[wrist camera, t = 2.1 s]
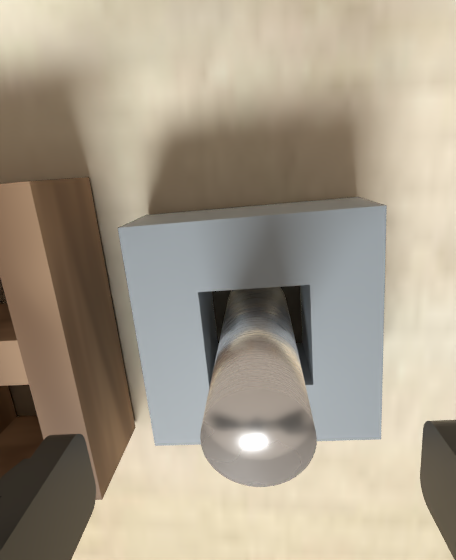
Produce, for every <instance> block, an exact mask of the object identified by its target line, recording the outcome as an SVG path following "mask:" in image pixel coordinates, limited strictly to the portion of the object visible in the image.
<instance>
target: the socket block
mask: <svg viewBox="0 0 456 560" xmlns="http://www.w3.org/2000/svg"><path fill="white" fill-rule="evenodd" d="M386 206H387V205H383V204H380V203H377V202H373V201H370V200H367V199H363V198H360V197H351V198H339V199H328V200H316V201H304V202H293V203H281V204H269V205H258V206H246V207H234V208H223V209H211V210H199V211H188V212H176V213H164V214H153V215H145V216H143V217H141V218H139V219H136V220H134V221H132V222H130V223H127V224H125V225H123V226H121V227H118V232H119V238H120V244H121V250H122V255H123V261H124V267H125V273H126V279H127V285H128V290H129V296H130V302H131V308H132V314H133V319H134V325H135V331H136V337H137V343H138V348H139V354H140V360H141V366H142V372H143V378H144V383H145V389H146V395H147V401H148V407H149V412H150V418H151V424H152V430H153V436H154V442H155V446H158V445H194V444H201V440H200V433H201V426H202V421H203V417H204V412H205V407H206V402H207V398H208V393H209V388H210V383H211V378H212V374H213V369H214V364H215V359H216V355H217V350H218V340H217V331H216V322H215V313H214V303H213V294H212V291H223V290H238V289H254V288H269V287H284V286H299V285H300V298H301V323H302V343H296V346H297V350H298V355H299V359H300V363H301V368H302V372H303V377H304V381H305V386H306V390H307V395H308V399H309V403H310V408H311V412H312V417H313V421H314V426H315V430H316V437H317V441H335V440H371V439H381V416H382V374H383V332H384V290H385V248H386Z"/></svg>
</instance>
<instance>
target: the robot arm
mask: <svg viewBox="0 0 456 560" xmlns="http://www.w3.org/2000/svg"><path fill="white" fill-rule="evenodd" d="M420 481H421V488H422V493H423V496H424V499H425V502H426V505H427V507H428V509H429V511H430V513H431V515H432V517H433V519H434V521H435V523H436V525H437V526H438V528H439V530H440V532H441V534H442V536H443V538H444V540H445V542H446V544H447V546H448V548H449V550H450V552H451V554H452V555H453V557H454V559H455V560H456V420H442V421H427V422H426V423H425V424H424V428H423V440H422V455H421V470H420ZM95 499H96V484H95V479H94V475H93V470H92V466H91V462H90V458H89V453H88V449H87V445H86V441H85V438H84V436H83V435H82V434H61V435H49V436H47V437H46V438H45V439H44V440H43V441H42V443H41V444H40V445H39V447H38V448H37V450H36V451H35V452H34V454H33V455H32V456H31V458H28V459H23V460H22V461H21V462H19V463H18V464H17V465H16V466H14V467H13V468H12V469H11V470H9V471H8V472H7V473H5V474H4V475H3V476H2V477H1V478H0V560H71V559H72V556H73V554H74V552H75V550H76V548H77V545H78V543H79V541H80V539H81V537H82V534H83V532H84V530H85V528H86V525H87V523H88V521H89V519H90V517H91V514H92V512H93V509H94V505H95Z"/></svg>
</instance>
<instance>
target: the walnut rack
mask: <svg viewBox="0 0 456 560" xmlns="http://www.w3.org/2000/svg"><path fill="white" fill-rule="evenodd" d="M0 278H1V282H2V286H3V289H4V293H5V297H6V301H7V303H3V304H0V478H1V477H2V476H3V475H4V474H5V473H7V472H8V471H9V470H11V469H12V468H13V467H14V466H16V465H17V464H18V463H19V462H21V461H22V460H23V459H28V458H31V456H32V455H33V454H34V452H35V451H36V450H37V448H38V447H39V445H40V444H41V443H42V441H43V440H44V439H45V438H46V437H47V436H49V435H61V434H82V435H83V436H84V438H85V441H86V445H87V449H88V453H89V458H90V462H91V466H92V470H93V475H94V479H95V484H96V499H95V500H102V499H103V496H104V494H105V492H106V490H107V488H108V486H109V483H110V481H111V479H112V477H113V475H114V473H115V470H116V468H117V466H118V464H119V462H120V460H121V457H122V455H123V453H124V451H125V449H126V447H127V444H128V442H129V440H130V438H131V436H132V434H133V431H134V429H135V423H134V418H133V412H132V407H131V401H130V396H129V391H128V385H127V380H126V375H125V369H124V364H123V358H122V353H121V348H120V342H119V337H118V332H117V326H116V321H115V315H114V310H113V305H112V299H111V294H110V289H109V283H108V278H107V273H106V267H105V262H104V256H103V251H102V246H101V240H100V235H99V230H98V224H97V219H96V213H95V208H94V203H93V197H92V192H91V187H90V181H89V177H84V178H69V179H54V180H39V181H25V182H15V183H5V184H0ZM8 385H29V387H30V390H31V394H32V398H33V402H34V405H35V409H36V413H37V416H23V417H17V416H16V412H15V409H14V405H13V402H12V398H11V395H10V391H9V388H8Z"/></svg>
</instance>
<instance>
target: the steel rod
mask: <svg viewBox="0 0 456 560" xmlns="http://www.w3.org/2000/svg"><path fill="white" fill-rule="evenodd" d="M200 440H201V446H202V450H203V452H204V455H205V457H206V458H207V460H208V461H209V463H210V464H211V465H212V467H213V468H214V469H215V470H216V471H218V472H219V473H220V474H221V475H223V476H224V477H226V478H228V479H230V480H232V481H234V482H236V483H239V484H243V485H247V486H254V487H267V486H274V485H278V484H281V483H284V482H287V481H289V480H291V479H292V478H294V477H296V476H297V475H298V474H300V473H301V472H302V471H303V470H304V469H305V468H306V467H307V466H308V464H309V463H310V461H311V459H312V458H313V455H314V453H315V449H316V442H317V437H316V430H315V426H314V421H313V417H312V412H311V408H310V403H309V399H308V395H307V390H306V386H305V381H304V377H303V372H302V368H301V363H300V359H299V355H298V350H297V346H296V341H295V337H294V332H293V328H292V324H291V319H290V315H289V310H288V306H287V301H286V297H285V295H284V293H283V291H282V289H281V288H280V287H269V288H254V289H238V290H232V291H231V293H230V295H229V298H228V302H227V307H226V312H225V316H224V321H223V326H222V331H221V335H220V340H219V345H218V350H217V355H216V359H215V364H214V369H213V374H212V378H211V383H210V388H209V393H208V398H207V402H206V407H205V412H204V417H203V421H202V426H201V433H200Z"/></svg>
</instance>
